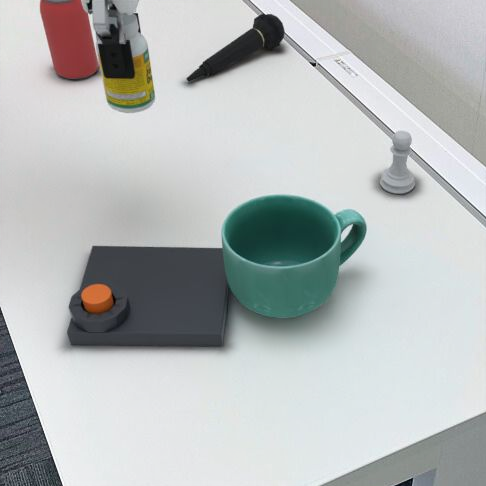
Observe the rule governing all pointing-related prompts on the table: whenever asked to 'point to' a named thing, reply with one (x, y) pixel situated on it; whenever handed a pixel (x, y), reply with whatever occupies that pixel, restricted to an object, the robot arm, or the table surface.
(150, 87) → the supplement bottle
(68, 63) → the beer can
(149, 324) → the scale
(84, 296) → the button
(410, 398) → the table surface
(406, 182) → the chess piece
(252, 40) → the microphone
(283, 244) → the mug
